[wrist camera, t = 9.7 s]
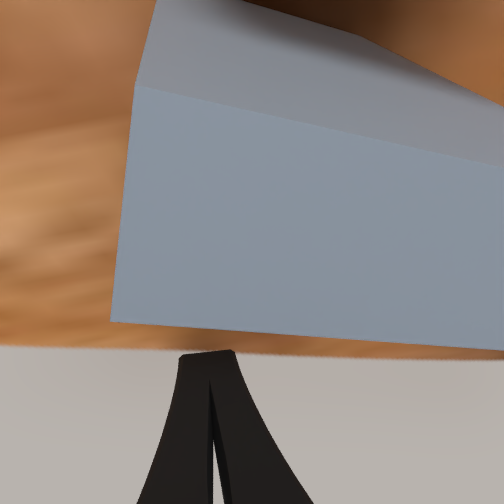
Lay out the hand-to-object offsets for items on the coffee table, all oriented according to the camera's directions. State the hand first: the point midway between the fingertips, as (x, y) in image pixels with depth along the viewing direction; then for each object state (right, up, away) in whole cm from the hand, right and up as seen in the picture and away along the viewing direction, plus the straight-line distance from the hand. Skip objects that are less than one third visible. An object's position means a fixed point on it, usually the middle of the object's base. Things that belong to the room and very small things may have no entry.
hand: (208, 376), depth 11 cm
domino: (+1, +8, 0) cm, 9 cm away
